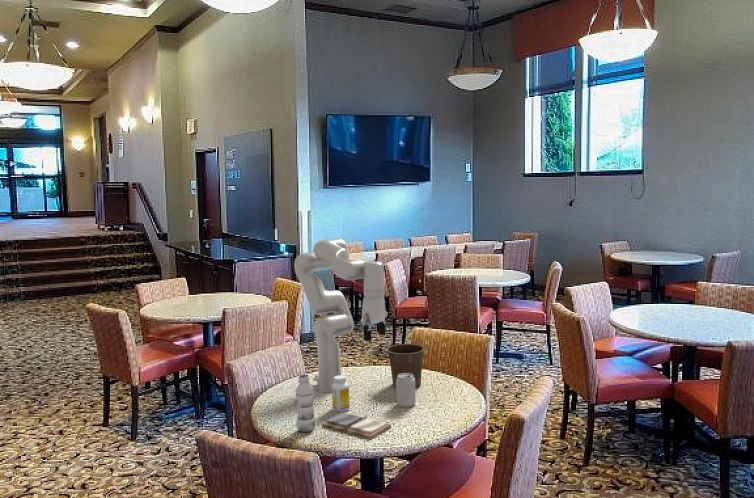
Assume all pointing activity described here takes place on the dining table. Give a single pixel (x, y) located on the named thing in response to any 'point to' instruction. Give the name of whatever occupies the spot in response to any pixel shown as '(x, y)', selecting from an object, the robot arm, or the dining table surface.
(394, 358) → the plant pot
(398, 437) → the dining table surface
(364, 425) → the makeup compact
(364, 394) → the dining table surface
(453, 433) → the dining table surface
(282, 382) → the dining table surface
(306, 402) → the plastic bottle
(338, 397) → the supplement bottle
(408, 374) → the can
